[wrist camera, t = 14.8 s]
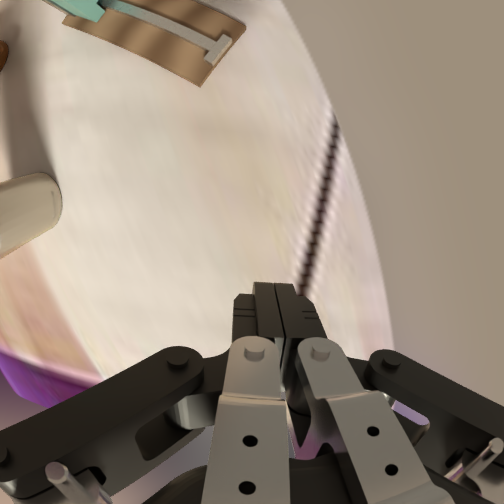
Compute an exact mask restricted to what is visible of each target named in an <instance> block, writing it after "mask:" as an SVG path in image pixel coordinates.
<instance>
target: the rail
mask: <svg viewBox="0 0 504 504" xmlns="http://www.w3.org/2000/svg"><path fill="white" fill-rule="evenodd" d="M42 1H44V2H46V3H48V4H49V5H51V6H53V7H55V8H56V9H58V10H60V11H61V12H63V13H65V14H66V15H69V16H72V17H76V15H74V14H73V13H71V12H69V11H68V10H66V9H65V8H63V7H61V6H60V5H58V4H57V3H55V2H53V1H52V0H42ZM96 4H97V5H98V6H100V7H103V8H106V9H109V10H112V11H115V12H118V13H120V14H123V15H126V16H129V17H131V18H134V19H136V20H139V21H141V22H144V23H146V24H149V25H151V26H154V27H156V28H158V29H161V30H163V31H165V32H167V33H169V34H172V35H174V36H176V37H178V38H180V39H182V40H184V41H186V42H188V43H190V44H192V45H194V46H196V47H198V48H200V49H202V50H204V51H206V52H208V53H207V55H206V56H205V57H204V58H203V59H204V61H205V62H206V63H207V64H209V65H211V66H214V65H215V63H216V62H217V61H218V60H219V58H220V57H221V56H222V55H223V53H224V52H225V51H226V50H227V48H228V47H229V46H230V45H231V44H232V38H230V37H228V36H226V35H224V34H223V35H222V36H221V37H220V39H219V40H218V41H217V42H215V41H214V40H212V39H210V38H208V37H206V36H204V35H202V34H200V33H198V32H196V31H193V30H191V29H189V28H187V27H185V26H183V25H180V24H178V23H176V22H174V21H171V20H169V19H167V18H164V17H162V16H159V15H157V14H154V13H152V12H149V11H147V10H144V9H141V8H139V7H136V6H133V5H130V4H127V3H124V2H121V1H118V0H98V2H97V3H96Z"/></svg>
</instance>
